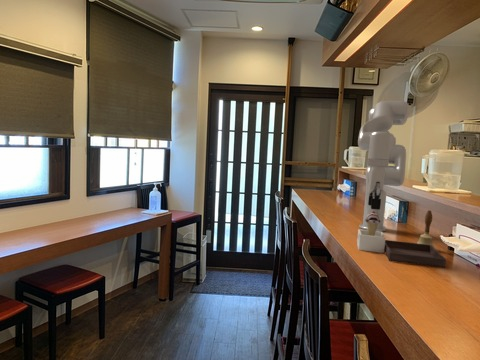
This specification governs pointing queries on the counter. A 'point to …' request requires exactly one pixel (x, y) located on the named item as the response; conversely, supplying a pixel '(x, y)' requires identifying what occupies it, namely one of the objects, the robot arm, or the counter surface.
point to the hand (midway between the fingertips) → (373, 207)
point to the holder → (371, 241)
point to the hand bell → (427, 230)
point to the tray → (413, 253)
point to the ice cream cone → (372, 223)
